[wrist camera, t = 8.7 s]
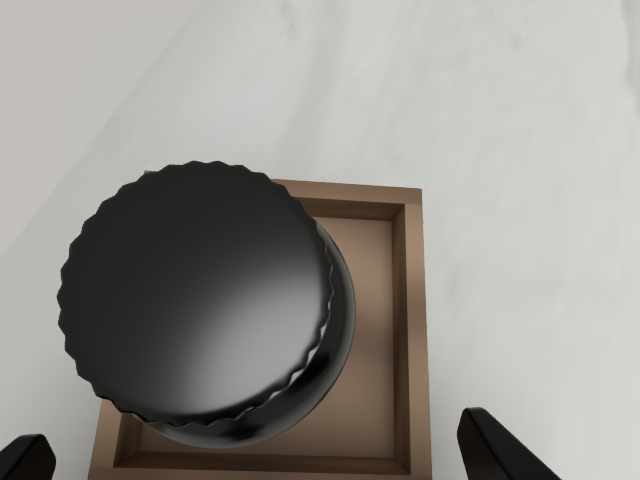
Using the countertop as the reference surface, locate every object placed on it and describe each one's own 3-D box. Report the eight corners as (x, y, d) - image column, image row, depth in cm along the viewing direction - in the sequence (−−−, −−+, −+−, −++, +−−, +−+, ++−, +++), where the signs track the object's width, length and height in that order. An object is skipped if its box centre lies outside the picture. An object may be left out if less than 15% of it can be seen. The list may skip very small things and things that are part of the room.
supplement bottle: (335, 399, 18) (417, 489, 6) (181, 414, 17) (-57, 547, 5) (322, 252, 19) (367, 107, 8) (183, 261, 19) (10, 119, 7)
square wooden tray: (395, 460, 20) (432, 500, 14) (142, 453, 19) (85, 492, 14) (392, 225, 23) (421, 188, 18) (179, 213, 23) (144, 170, 17)
